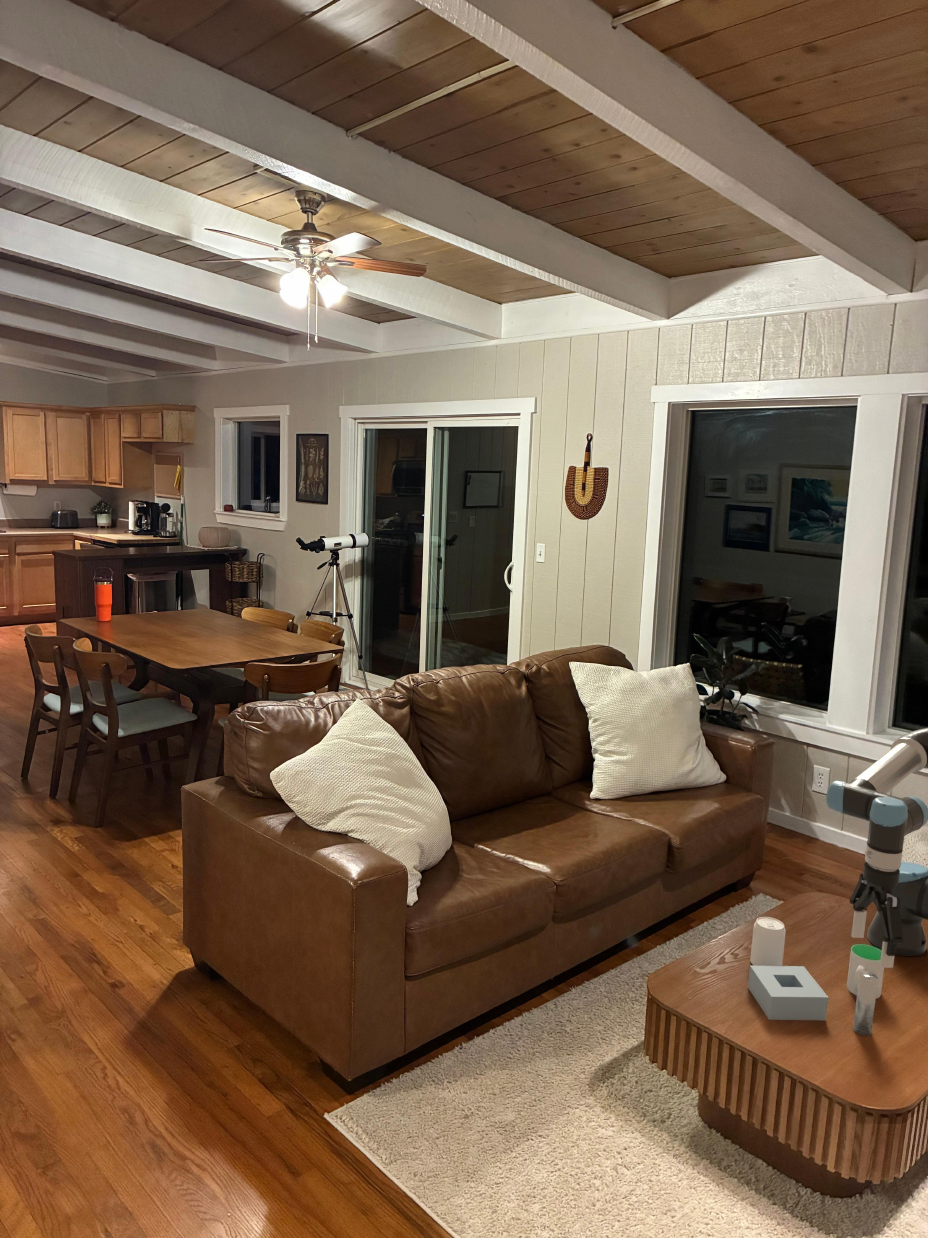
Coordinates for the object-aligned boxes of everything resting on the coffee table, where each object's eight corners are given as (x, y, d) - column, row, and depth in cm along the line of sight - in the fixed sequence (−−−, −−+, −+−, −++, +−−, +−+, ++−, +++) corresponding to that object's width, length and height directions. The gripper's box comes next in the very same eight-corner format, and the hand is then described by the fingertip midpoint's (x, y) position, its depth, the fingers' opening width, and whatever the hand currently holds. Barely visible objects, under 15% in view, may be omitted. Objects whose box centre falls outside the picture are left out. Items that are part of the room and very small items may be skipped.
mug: (874, 1010, 224) (879, 970, 222) (840, 998, 228) (844, 959, 227) (883, 989, 234) (888, 951, 232) (850, 978, 238) (854, 941, 237)
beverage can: (777, 959, 246) (782, 917, 245) (785, 974, 238) (789, 932, 237) (747, 956, 247) (751, 914, 245) (753, 971, 239) (757, 929, 237)
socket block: (801, 988, 232) (803, 966, 231) (825, 1020, 218) (828, 997, 218) (747, 987, 231) (750, 965, 230) (768, 1020, 218) (771, 996, 217)
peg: (866, 1026, 217) (872, 971, 215) (874, 1036, 213) (881, 980, 211) (849, 1025, 217) (856, 971, 215) (858, 1036, 213) (864, 980, 211)
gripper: (841, 843, 221) (831, 925, 224) (894, 889, 196) (883, 980, 199) (871, 844, 221) (861, 926, 224) (928, 890, 197) (916, 981, 200)
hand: (871, 951), depth 212 cm, fingers open, 13 cm apart
